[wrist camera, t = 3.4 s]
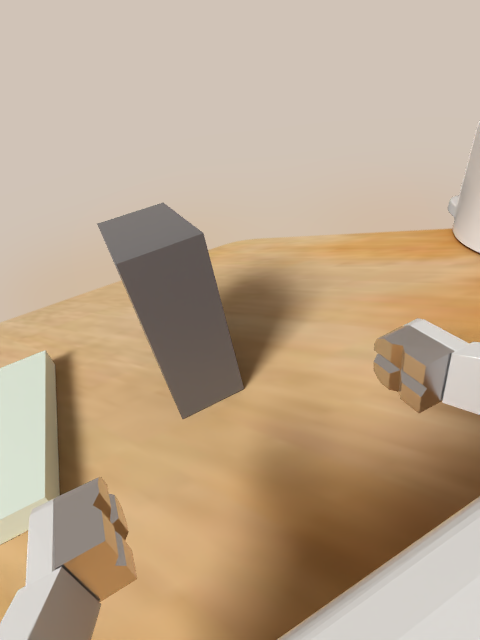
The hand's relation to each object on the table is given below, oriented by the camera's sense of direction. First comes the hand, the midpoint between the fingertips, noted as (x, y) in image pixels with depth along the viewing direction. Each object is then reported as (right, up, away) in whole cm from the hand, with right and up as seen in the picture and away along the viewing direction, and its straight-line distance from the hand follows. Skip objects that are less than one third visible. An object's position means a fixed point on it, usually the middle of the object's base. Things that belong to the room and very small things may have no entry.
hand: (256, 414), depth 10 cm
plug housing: (-3, -1, +14) cm, 15 cm away
